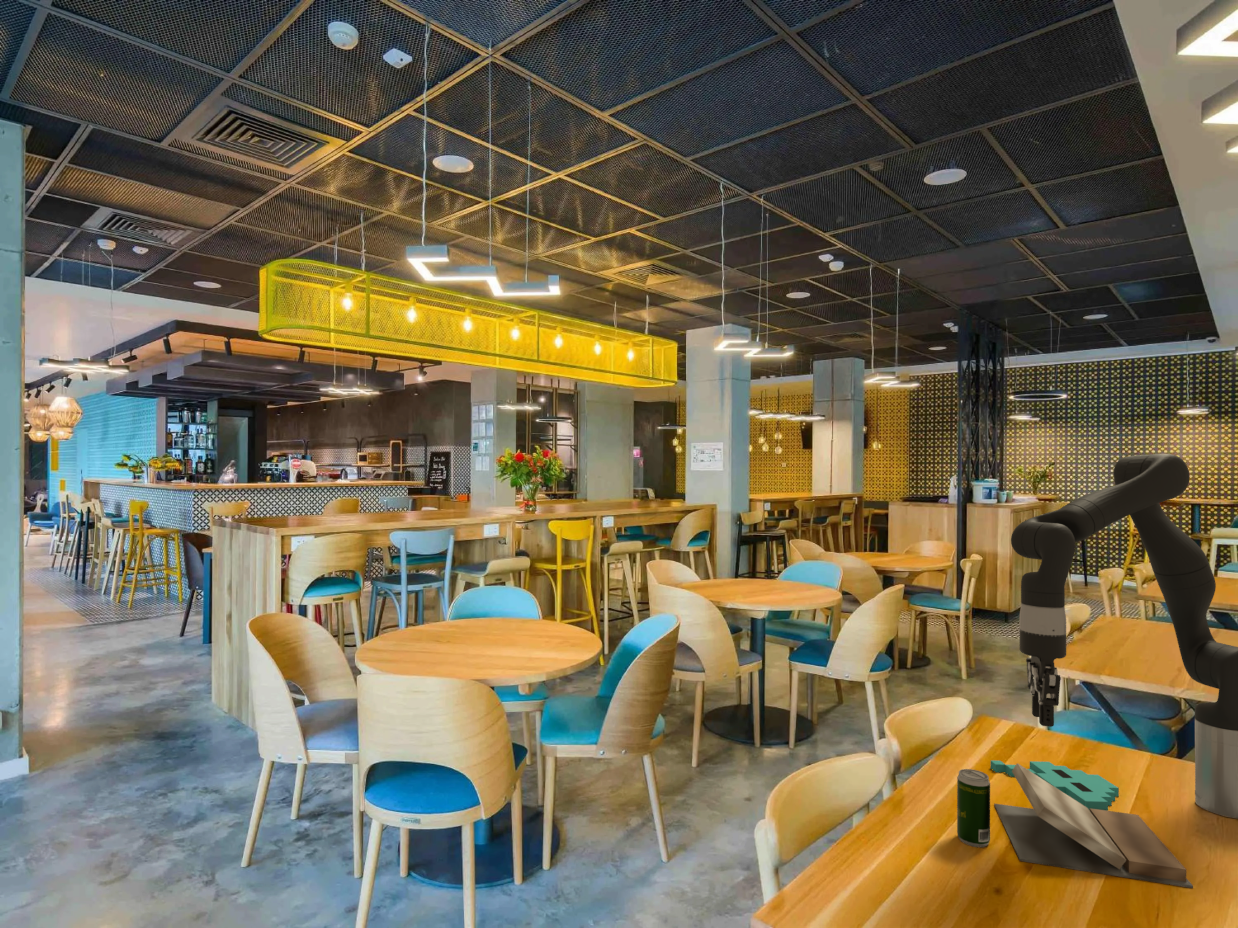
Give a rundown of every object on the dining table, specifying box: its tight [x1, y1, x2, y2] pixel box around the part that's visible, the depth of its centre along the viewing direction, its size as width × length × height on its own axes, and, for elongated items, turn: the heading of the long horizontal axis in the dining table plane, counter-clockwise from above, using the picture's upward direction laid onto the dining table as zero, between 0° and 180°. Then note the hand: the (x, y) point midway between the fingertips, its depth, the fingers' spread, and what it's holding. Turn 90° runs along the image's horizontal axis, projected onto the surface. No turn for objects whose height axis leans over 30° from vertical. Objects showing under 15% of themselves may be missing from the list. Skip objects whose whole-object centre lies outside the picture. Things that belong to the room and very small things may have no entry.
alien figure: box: [990, 759, 1120, 811], centre depth 151 cm, size 20×2×20 cm
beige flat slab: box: [1012, 763, 1126, 869], centre depth 130 cm, size 14×20×2 cm
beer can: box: [956, 768, 991, 848], centre depth 129 cm, size 5×5×12 cm
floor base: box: [993, 803, 1194, 889], centre depth 129 cm, size 25×22×2 cm
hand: (1042, 720), depth 131 cm, fingers open, 4 cm apart
